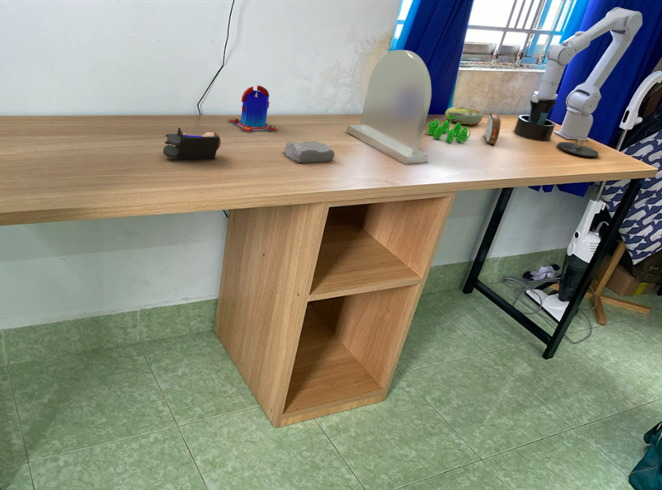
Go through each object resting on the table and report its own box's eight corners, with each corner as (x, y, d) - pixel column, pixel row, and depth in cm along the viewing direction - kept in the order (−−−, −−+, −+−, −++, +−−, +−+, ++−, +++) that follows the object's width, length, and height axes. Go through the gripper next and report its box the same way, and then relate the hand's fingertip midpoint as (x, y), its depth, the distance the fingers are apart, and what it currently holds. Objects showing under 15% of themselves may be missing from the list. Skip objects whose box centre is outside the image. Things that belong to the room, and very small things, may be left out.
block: (532, 122, 223) (536, 110, 221) (543, 126, 221) (548, 113, 218) (526, 123, 220) (530, 111, 218) (537, 127, 218) (542, 114, 216)
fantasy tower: (244, 132, 180) (249, 91, 174) (227, 120, 188) (230, 79, 182) (279, 131, 186) (284, 90, 179) (260, 119, 194) (265, 80, 188)
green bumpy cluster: (451, 147, 196) (457, 125, 192) (414, 132, 205) (420, 111, 201) (477, 142, 205) (483, 121, 201) (440, 128, 214) (446, 108, 210)
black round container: (537, 130, 229) (542, 116, 226) (556, 142, 219) (562, 127, 216) (507, 128, 226) (512, 113, 223) (525, 139, 216) (531, 124, 213)
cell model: (437, 110, 225) (471, 95, 228) (441, 130, 228) (474, 116, 231) (455, 113, 215) (490, 97, 218) (459, 134, 219) (493, 119, 222)
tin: (495, 147, 202) (503, 122, 198) (485, 145, 203) (493, 120, 198) (491, 135, 215) (498, 111, 211) (482, 133, 215) (489, 109, 211)
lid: (579, 145, 219) (585, 133, 216) (606, 159, 208) (611, 146, 206) (548, 144, 215) (553, 131, 212) (573, 158, 204) (578, 144, 202)
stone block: (280, 158, 171) (298, 163, 162) (281, 140, 169) (299, 145, 161) (316, 157, 176) (335, 163, 168) (318, 140, 174) (337, 145, 166)
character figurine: (160, 155, 156) (215, 154, 162) (168, 163, 150) (225, 162, 157) (160, 124, 152) (217, 124, 159) (168, 131, 147) (227, 131, 153)
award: (427, 162, 180) (453, 63, 165) (405, 164, 175) (430, 63, 161) (367, 131, 199) (386, 40, 184) (346, 132, 194) (364, 39, 180)
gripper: (549, 77, 219) (536, 115, 227) (529, 79, 210) (516, 119, 218) (568, 83, 215) (553, 121, 223) (548, 85, 206) (534, 125, 214)
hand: (536, 120), depth 220 cm, fingers closed on block, 4 cm apart
